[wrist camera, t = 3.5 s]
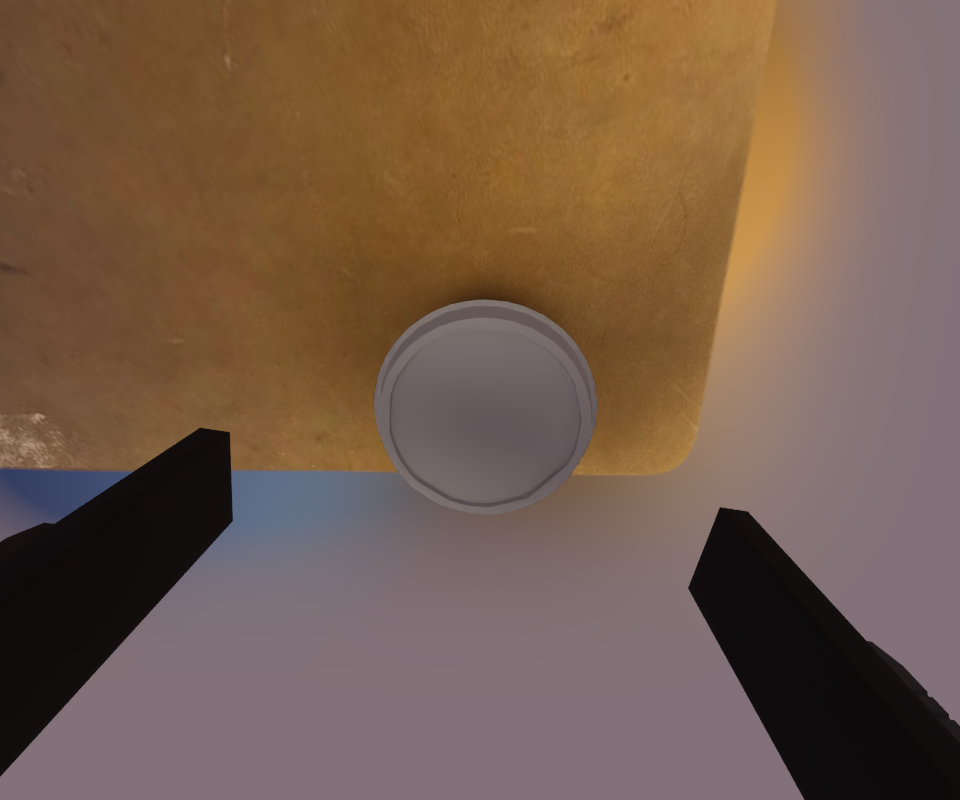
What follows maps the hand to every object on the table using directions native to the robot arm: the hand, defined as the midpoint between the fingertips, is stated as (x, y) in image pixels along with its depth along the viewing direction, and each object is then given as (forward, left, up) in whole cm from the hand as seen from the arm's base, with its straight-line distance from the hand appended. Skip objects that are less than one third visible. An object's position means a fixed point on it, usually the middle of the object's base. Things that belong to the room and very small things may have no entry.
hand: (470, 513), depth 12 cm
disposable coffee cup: (0, 0, -19) cm, 19 cm away
